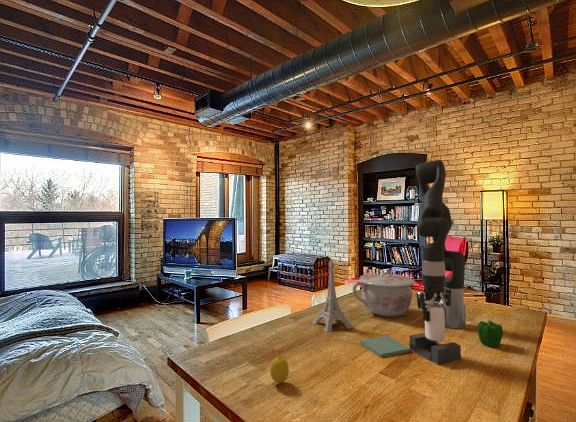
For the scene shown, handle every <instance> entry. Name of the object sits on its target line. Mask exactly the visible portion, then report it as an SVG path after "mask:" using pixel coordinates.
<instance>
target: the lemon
mask: <svg viewBox="0 0 576 422" xmlns="http://www.w3.org/2000/svg"><path fill="white" fill-rule="evenodd" d="M289 370H290V369H289V365H288V362H287V360H286V359H285V358H284V357H281V356H277V357H275V358H274V359H273V360H272V361H271V364H270V369H269V372H270V373H269V374H270V376H271V377H270V378H271V379H272V381H274V382H276V383H278V385H280V384H282V383H283V382H285V381H286V380H287V378H288V376H289Z"/></svg>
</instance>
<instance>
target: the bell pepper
mask: <svg viewBox="0 0 576 422" xmlns="http://www.w3.org/2000/svg"><path fill="white" fill-rule="evenodd" d="M476 328H477V335H478V339H479V342H480V343H481V344H483V345H485V346H487V347H491V348H496V347H498V346H499V345H500V344H501V342H502V339H503V333H504V331H503V329H504V328H503V327H502V324H499V323H495V322H494V321H493V320H491V319H487V322H486V321H484V320H483V321H482V320H481V321H479V322H478V324H477V326H476Z"/></svg>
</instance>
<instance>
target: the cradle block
mask: <svg viewBox="0 0 576 422" xmlns="http://www.w3.org/2000/svg"><path fill="white" fill-rule="evenodd" d="M409 348H411V351H413V352H414V353H415V354H417V355H419V356H420V357H422V358H424V359H426V360H428V361H430V362H432V363H434V364H436V365H437V366H440V365H444V364H448V363H453V362H457V361H461V360H462V352H461V351H462V346H461V345H460V344H459V343H456V342H453V341H451V342H447V343H440V342H438V341H431V340H429V339H427V338H426V337H425V332H421V333H414V334H410V335H409ZM428 350H430V351H428Z"/></svg>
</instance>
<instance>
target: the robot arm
mask: <svg viewBox="0 0 576 422" xmlns="http://www.w3.org/2000/svg"><path fill="white" fill-rule="evenodd" d="M415 173H416V174H415V175H416V178H417V181H418V185H419V188H420V192H421V195H422V202H421V203H422V205H421V207H422V208H421V213H420V217H419V218H418V220H417V222H416V232H417V234H418V235H419V237H423V238H432V242H428V243H425V244H423V246H422V265H421V267H422V269H421V270H422V272H421V274H422V276H421V277H422V281H421V282H422V286H423V290H422V291H420V292H419V291H416V292H415V293H416V302H417V308H418V309H419V310H422V319H423V321H424V322H425V321H427V322H429V321H430V311H429V310H430V307H431V306H432V305H433V303H439V304H442V305H443V308H444V314H445V328H446V327H447V328H450V329H463V328H464V327H466V326H467V317H466V316H467V313H466V304H465V301H464V300H465V299H464V298H465V297H464V296H465V295H464V293H465V292H464V290H465V289H464V285H465V275H466V274H465V271H466V258H465V255H464V254H463V252H461V251H454V250H447V248H446V241H447V237H448V235H449V233H450V232H451V229H452V226H453V222H452V221H453V220H452V216H451V212H450V209H449V207H448V206H447V205H446V203H444V202H443V198H444V197H443V195H444V192H445V191H444V188H445V184H446V176H447V172H446V166H445V163H444V162H443V160H441V159H435V160H430V161H426V162H421V163H418V164H417V165H416V166H415ZM429 184H432V185H431V186H429ZM446 272H451V273H452V274H451V275H450V276H449V277H446ZM427 304H428V305H427ZM426 305H427V307H426Z"/></svg>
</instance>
